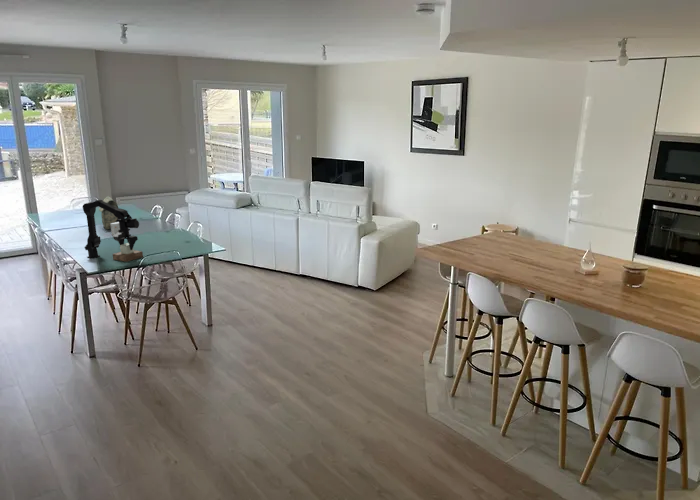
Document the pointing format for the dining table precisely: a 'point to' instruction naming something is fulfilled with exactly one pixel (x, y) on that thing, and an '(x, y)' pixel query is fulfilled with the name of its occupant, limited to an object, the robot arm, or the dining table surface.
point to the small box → (114, 227)
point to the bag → (108, 213)
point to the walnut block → (127, 256)
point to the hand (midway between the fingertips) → (127, 249)
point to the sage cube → (126, 249)
